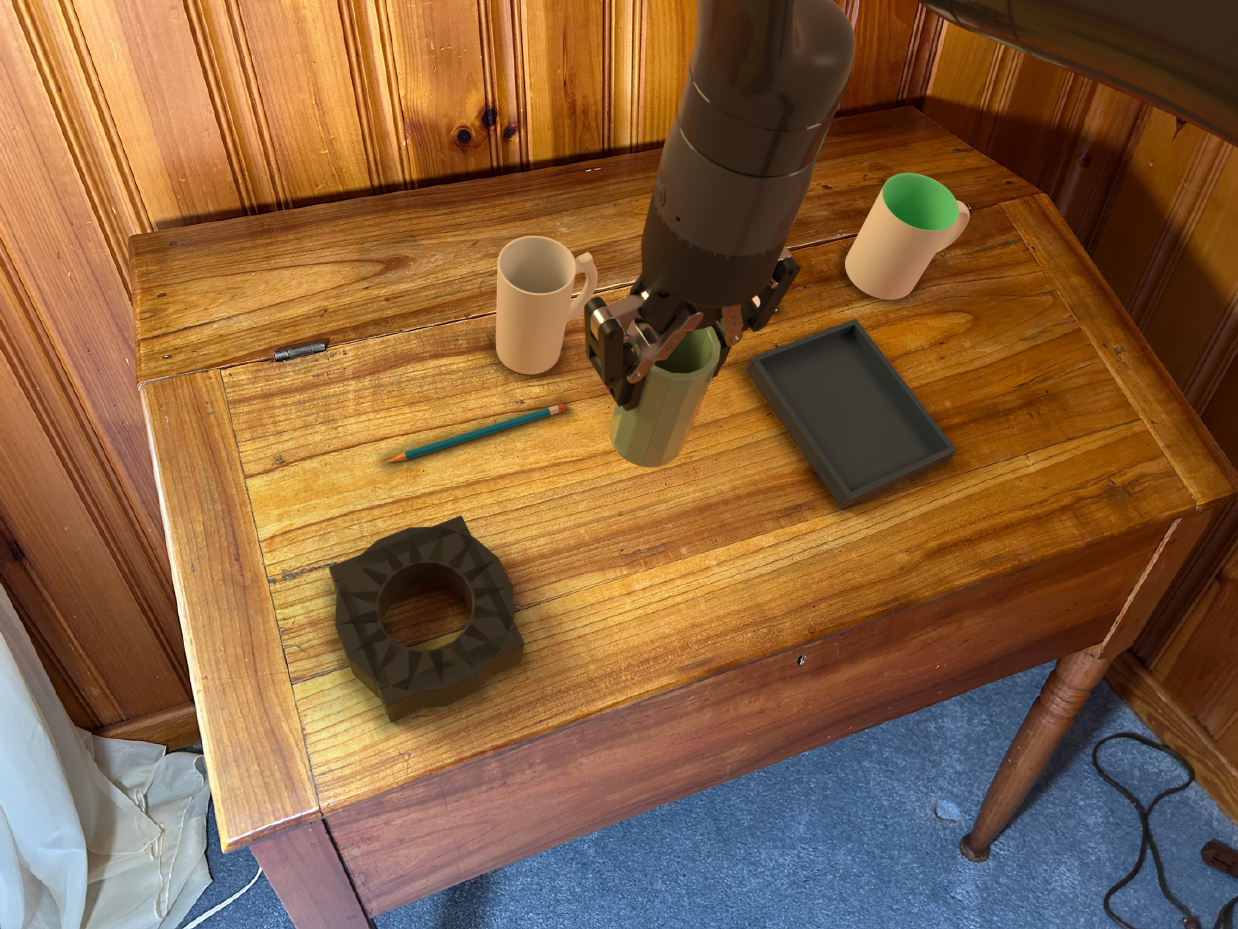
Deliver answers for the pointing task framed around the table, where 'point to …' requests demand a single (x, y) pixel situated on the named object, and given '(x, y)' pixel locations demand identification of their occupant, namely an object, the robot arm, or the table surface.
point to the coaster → (757, 301)
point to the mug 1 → (537, 301)
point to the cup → (666, 402)
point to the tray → (849, 412)
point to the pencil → (478, 433)
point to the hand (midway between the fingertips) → (664, 383)
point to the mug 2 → (904, 235)
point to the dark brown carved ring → (403, 565)
